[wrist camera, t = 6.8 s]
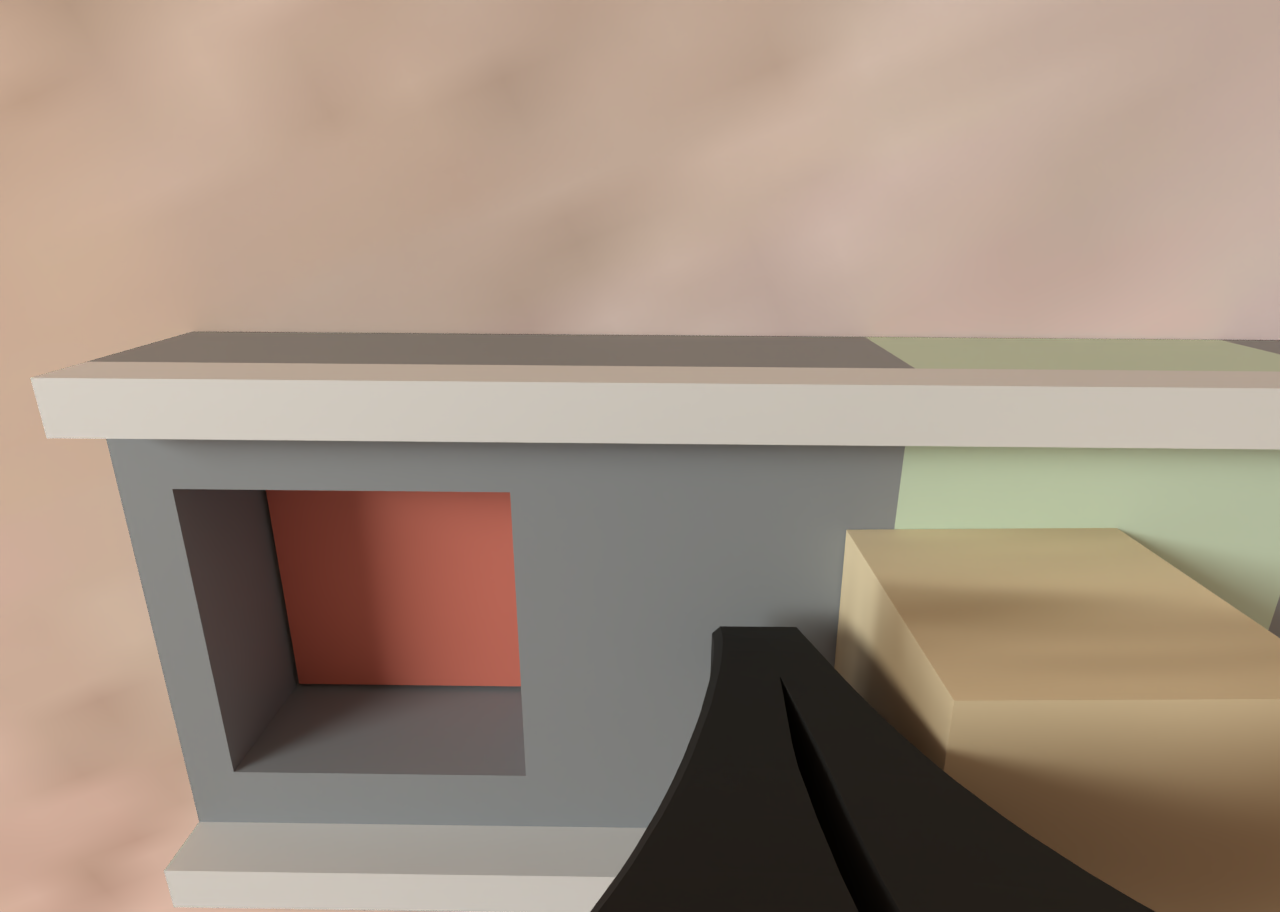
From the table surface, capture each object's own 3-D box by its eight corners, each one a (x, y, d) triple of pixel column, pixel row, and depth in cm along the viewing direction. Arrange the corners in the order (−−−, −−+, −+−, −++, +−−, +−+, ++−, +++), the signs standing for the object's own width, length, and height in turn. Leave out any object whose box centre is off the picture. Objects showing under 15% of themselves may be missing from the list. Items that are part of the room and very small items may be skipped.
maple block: (1068, 749, 12) (1260, 993, 8) (827, 749, 12) (909, 993, 8) (1116, 527, 11) (1369, 698, 7) (846, 529, 11) (954, 701, 7)
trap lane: (1418, 771, 15) (1631, 928, 12) (274, 756, 16) (174, 907, 12) (1607, 342, 12) (1955, 394, 9) (192, 331, 13) (29, 377, 9)
